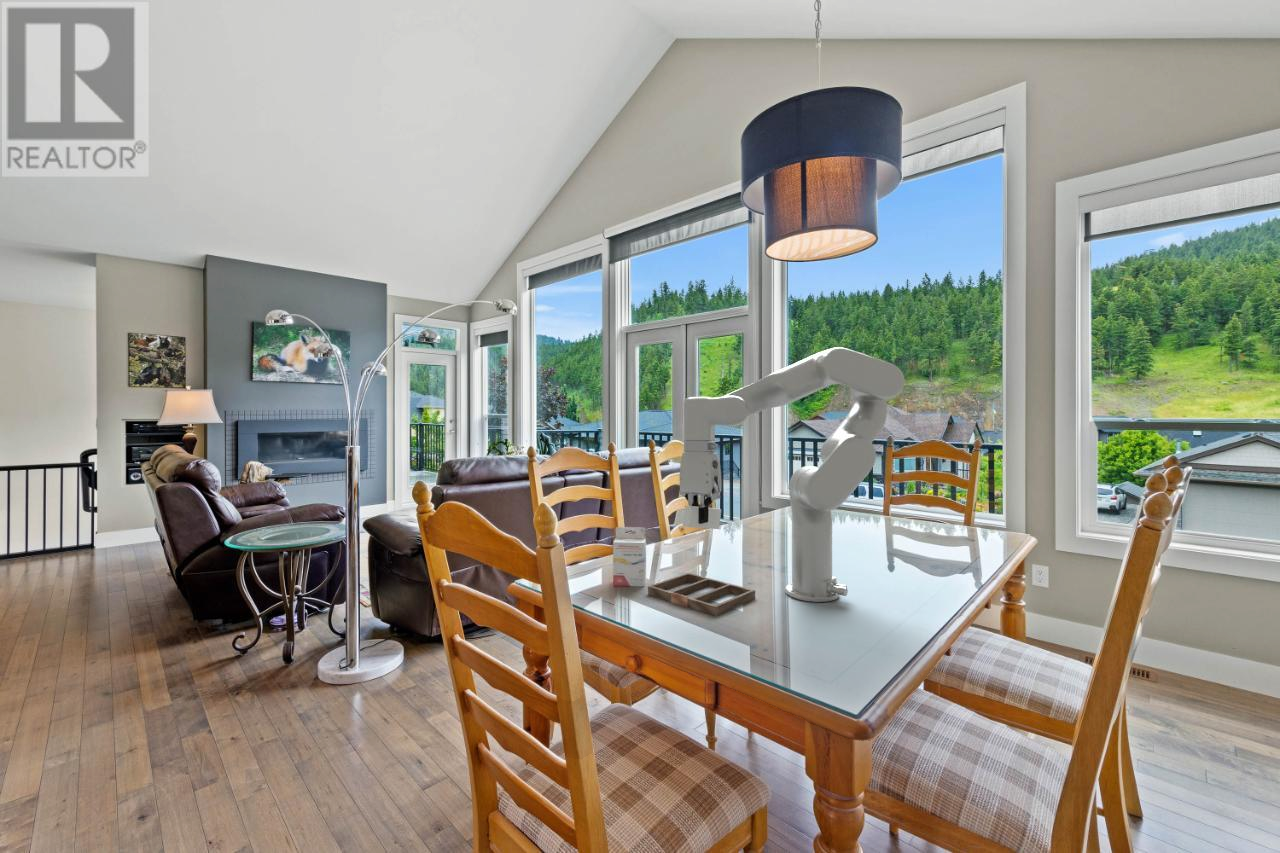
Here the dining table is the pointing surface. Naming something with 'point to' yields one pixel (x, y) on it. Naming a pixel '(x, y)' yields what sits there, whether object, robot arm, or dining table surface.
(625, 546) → the ink cartridge box
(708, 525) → the panel
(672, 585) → the rack
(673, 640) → the dining table surface
